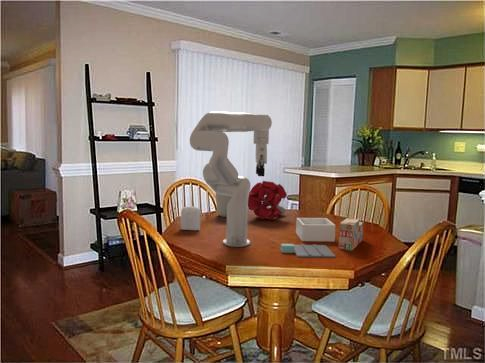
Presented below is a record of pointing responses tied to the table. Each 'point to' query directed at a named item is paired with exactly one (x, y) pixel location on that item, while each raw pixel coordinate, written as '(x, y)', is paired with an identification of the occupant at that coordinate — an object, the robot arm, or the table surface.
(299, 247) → the lid
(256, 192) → the bouquet
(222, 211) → the canister
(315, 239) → the tub
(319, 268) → the table surface
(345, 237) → the printed milk carton
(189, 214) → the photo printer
